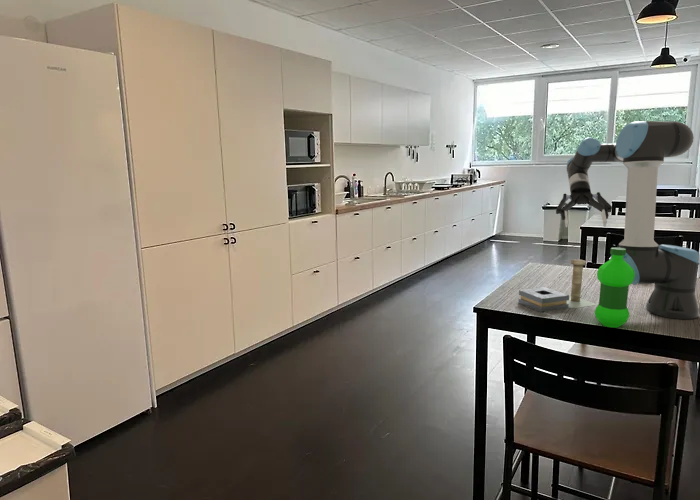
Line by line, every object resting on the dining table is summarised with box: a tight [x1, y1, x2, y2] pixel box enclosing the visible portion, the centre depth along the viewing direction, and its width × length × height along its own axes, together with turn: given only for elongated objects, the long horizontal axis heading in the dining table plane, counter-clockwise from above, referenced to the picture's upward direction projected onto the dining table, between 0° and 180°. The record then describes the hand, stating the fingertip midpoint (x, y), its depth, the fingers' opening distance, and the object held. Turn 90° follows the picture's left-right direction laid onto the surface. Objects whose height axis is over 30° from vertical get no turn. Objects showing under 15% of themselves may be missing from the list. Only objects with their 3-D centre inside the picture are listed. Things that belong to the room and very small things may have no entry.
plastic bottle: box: [594, 246, 635, 329], centre depth 153 cm, size 10×10×25 cm
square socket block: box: [517, 286, 570, 313], centre depth 175 cm, size 12×12×5 cm
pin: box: [570, 259, 587, 302], centre depth 179 cm, size 5×5×15 cm
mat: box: [567, 294, 599, 309], centre depth 180 cm, size 14×12×1 cm
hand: (585, 224), depth 188 cm, fingers open, 13 cm apart
